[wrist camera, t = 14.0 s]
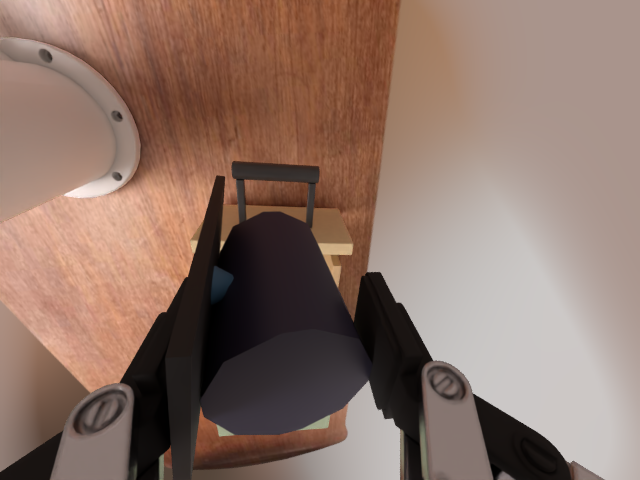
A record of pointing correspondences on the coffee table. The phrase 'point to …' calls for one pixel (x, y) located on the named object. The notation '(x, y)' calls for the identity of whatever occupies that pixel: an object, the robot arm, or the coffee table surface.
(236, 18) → the coffee table surface
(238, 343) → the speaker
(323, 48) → the coffee table surface
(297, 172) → the drawer
